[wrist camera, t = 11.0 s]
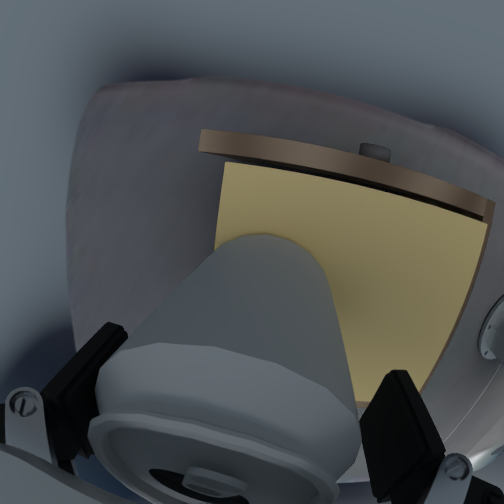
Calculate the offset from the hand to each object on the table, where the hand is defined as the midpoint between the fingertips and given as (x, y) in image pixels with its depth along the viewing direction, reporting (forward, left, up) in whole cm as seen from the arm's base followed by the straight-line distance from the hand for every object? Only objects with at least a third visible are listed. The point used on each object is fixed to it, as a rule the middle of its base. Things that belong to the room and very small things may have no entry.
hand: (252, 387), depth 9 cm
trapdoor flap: (-5, 0, -8) cm, 9 cm away
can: (0, 0, -8) cm, 8 cm away
